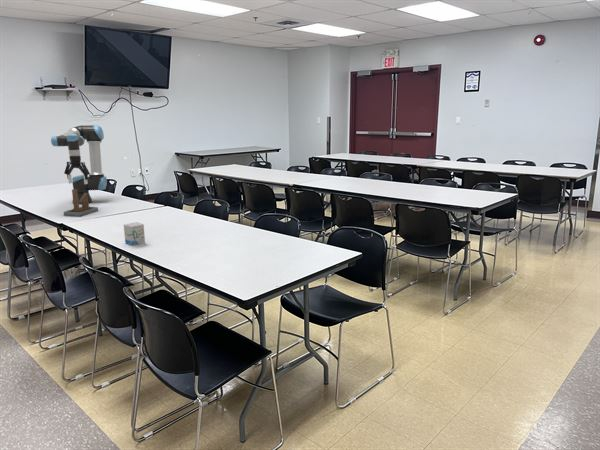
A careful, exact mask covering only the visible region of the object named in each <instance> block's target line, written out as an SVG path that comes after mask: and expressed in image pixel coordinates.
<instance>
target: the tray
mask: <svg viewBox="0 0 600 450" xmlns="http://www.w3.org/2000/svg"><path fill="white" fill-rule="evenodd" d="M96 212H99V207H98V206H89V210H86V211H83V212H80V213H79V212H73V208H72V209H69V210H66V211H63V216H64V217H65V216H66V217H74V218H75V217H77V218H78V217H79V218H81V217H84V216H88V215H91V214H93V213H94V214H95V213H96Z"/></svg>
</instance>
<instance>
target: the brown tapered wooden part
mask: <svg viewBox="0 0 600 450" xmlns="http://www.w3.org/2000/svg"><path fill="white" fill-rule="evenodd" d="M71 193H72V204H73V208H72V209H73V212H79V213H80V212H83V211H86V210H89V207H90V206H89V204H90V203H88V195H87V193H84V194H83V196H82V197H81V198H80V200H79V201H78V193H77V189H71ZM79 203H82V204H81V206H80V204H79Z"/></svg>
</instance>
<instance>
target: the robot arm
mask: <svg viewBox="0 0 600 450" xmlns="http://www.w3.org/2000/svg"><path fill="white" fill-rule="evenodd" d="M104 138H105V135H104V130H103V128H102V127H101V126H100V125H98V124H97V125H96V124H94V125H93V124H91V125H84V124H83V125H78V126H74V127H72V128H70V129H68V131H65V132H64V133H62V134H60V135H58V136H56V135H54V136H51V139H50V143H51V146H53V147H57V148H58V147H67V148H68V155H69V157H68V158H69V161H67V162H66V166H65V169H64V174H65V175H66V178H67V180H68V184H69V185H70V184H72V188H73V189H77V193H78V201H79V200H80V198H81V197H82V196H83V194H84V193H87V195H88V204H90V203H91V204H92V202H93V199H92V196H91V195H90V191H104V190H106V188H107V183H108V179H107V178H108V177H107V176H105V173H103V169H102V167H103V166H102V156H101V144H102V141H103V140H104ZM85 140H86V143H87V144H88V149H89V150H88V151H89V162H90V163H89V164H90V171H89V169H88V167H87V165H86V163H85V161H82V157H81V148H80V147H81V146H84V144H85ZM74 169H79V170H80V172H81V173H82V174H80V175H75V176H73V177H72V174H71V173H72V172H73V170H74ZM79 205H82V203H79Z"/></svg>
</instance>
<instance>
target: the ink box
mask: <svg viewBox="0 0 600 450" xmlns="http://www.w3.org/2000/svg"><path fill="white" fill-rule="evenodd" d="M144 226H145V224H144V223H141V222H138V221H134V222H129V223H125V224H123V232H124V242H125V244H126V245H130V246H137V245H142V244H145V243H146V237H145V236H146V235H145V227H144Z"/></svg>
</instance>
